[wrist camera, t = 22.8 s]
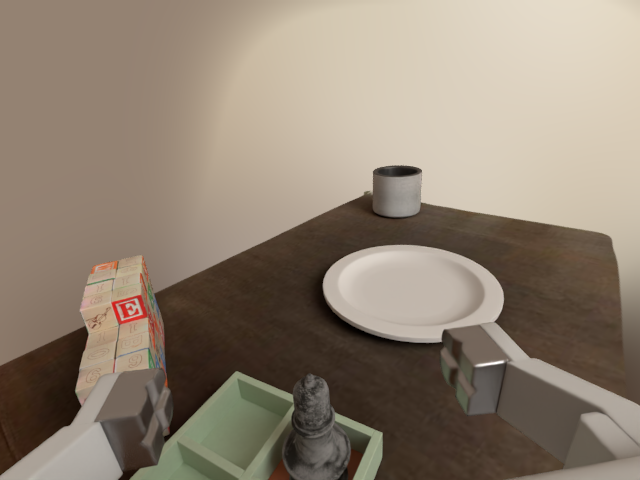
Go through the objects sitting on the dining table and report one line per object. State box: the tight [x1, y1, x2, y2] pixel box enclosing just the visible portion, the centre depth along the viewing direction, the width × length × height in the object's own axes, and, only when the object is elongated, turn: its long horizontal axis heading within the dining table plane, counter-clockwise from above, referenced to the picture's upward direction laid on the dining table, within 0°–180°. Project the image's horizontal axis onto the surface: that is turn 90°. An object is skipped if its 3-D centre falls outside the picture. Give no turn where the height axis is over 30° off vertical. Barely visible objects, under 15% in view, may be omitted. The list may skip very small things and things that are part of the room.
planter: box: [373, 166, 422, 218], centre depth 92 cm, size 13×12×11 cm
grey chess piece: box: [282, 373, 351, 480], centre depth 29 cm, size 6×6×12 cm
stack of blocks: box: [75, 255, 170, 437], centre depth 42 cm, size 21×6×12 cm, turn 25°
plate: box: [323, 245, 504, 343], centre depth 57 cm, size 28×28×2 cm
